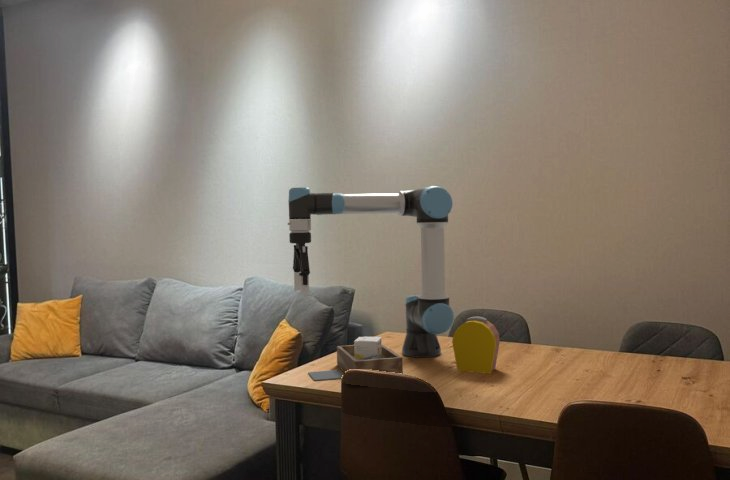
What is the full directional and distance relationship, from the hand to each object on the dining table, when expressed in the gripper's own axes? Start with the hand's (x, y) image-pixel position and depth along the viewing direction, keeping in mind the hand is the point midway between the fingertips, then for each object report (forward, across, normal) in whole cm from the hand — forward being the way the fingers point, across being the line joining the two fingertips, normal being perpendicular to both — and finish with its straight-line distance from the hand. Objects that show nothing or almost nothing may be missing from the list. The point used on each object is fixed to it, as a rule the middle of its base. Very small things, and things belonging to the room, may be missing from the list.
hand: (301, 292), depth 226 cm
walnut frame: (+28, +8, +22) cm, 36 cm away
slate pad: (+28, +9, +7) cm, 30 cm away
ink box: (+28, +8, +22) cm, 36 cm away
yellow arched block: (+28, +18, +58) cm, 67 cm away
